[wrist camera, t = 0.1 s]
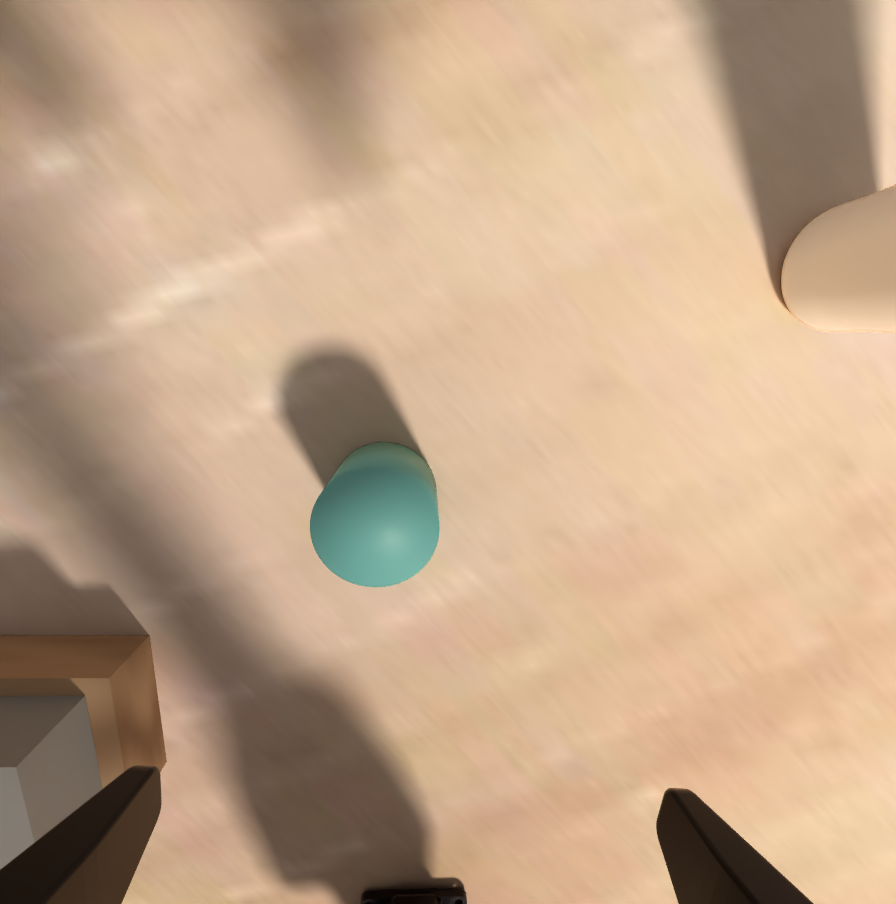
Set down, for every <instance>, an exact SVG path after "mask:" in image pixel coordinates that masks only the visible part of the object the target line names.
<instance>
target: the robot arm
mask: <svg viewBox="0 0 896 904" xmlns="http://www.w3.org/2000/svg"><path fill="white" fill-rule="evenodd" d="M160 810H161V782H160V770H159V768H158V767H156V766H145V765H135V766H132V767H130V768H128V769H127V770H126V771H124V772H123V773H122V774H121V775H119V776H118V777H117V778H116V779H114V780H113V781H112V782H110V783H109V784H108V785H107V786H105V787H104V788H103V789H102V790H100V791H99V792H98V793H97V794H95V795H94V796H93V797H91V798H90V799H89V800H88V801H86V802H85V803H84V804H83V805H81V806H80V807H79V808H78V809H76V810H75V811H74V812H72V813H71V814H70V815H69V816H67V817H66V818H65V819H64V820H62V821H61V822H60V823H59V824H57V825H56V826H55V827H53V828H52V829H51V830H50V831H48V832H47V833H46V834H45V835H43V836H42V837H41V838H40V839H38V840H37V841H36V842H34V843H33V844H32V845H31V846H29V847H28V848H27V849H26V850H24V851H23V852H22V853H21V854H19V855H18V856H17V857H15V858H14V859H13V860H12V861H10V862H9V863H8V864H7V865H5V866H4V867H3V868H2V869H0V904H121V903H122V901H123V899H124V896H125V894H126V892H127V890H128V887H129V885H130V883H131V880H132V878H133V876H134V873H135V871H136V869H137V866H138V864H139V862H140V859H141V857H142V855H143V852H144V850H145V848H146V845H147V843H148V841H149V838H150V836H151V834H152V831H153V829H154V827H155V824H156V822H157V820H158V817H159V814H160ZM656 828H657V835H658V839H659V843H660V846H661V849H662V852H663V855H664V859H665V862H666V865H667V868H668V871H669V874H670V878H671V881H672V884H673V887H674V890H675V894H676V897H677V900H678V903H679V904H813V903H812V902H811V901H810V900H809V899H808V898H807V897H806V896H805V895H804V894H803V893H802V892H800V891H799V890H798V889H797V888H796V887H795V886H794V885H793V884H792V883H791V882H790V881H789V880H788V879H786V878H785V877H784V876H783V875H782V874H781V873H780V872H779V871H778V870H777V869H776V868H775V867H773V866H772V865H771V864H770V863H769V862H768V861H767V860H766V859H765V858H764V857H763V856H762V855H761V854H759V853H758V852H757V851H756V850H755V849H754V848H753V847H752V846H751V845H750V844H749V843H748V842H746V841H745V840H744V839H743V838H742V837H741V836H740V835H739V834H738V833H737V832H736V831H735V830H733V829H732V828H731V827H730V826H729V825H728V824H727V823H726V822H725V821H724V820H723V819H722V818H721V817H719V816H718V815H717V814H716V813H715V812H714V811H713V810H712V809H711V808H710V807H709V806H708V805H706V804H705V803H704V802H703V801H702V800H701V799H700V798H699V797H698V796H697V795H696V794H694V793H693V792H692V791H690V790H688V789H680V788H669V789H667V790H666V791H665V793H664V796H663V800H662V803H661V807H660V811H659V814H658V818H657V823H656ZM361 904H467V898H466V892H465V891H464V890H463V889H429V890H393V891H368V892H365V893H363V894H362V897H361Z"/></svg>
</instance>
